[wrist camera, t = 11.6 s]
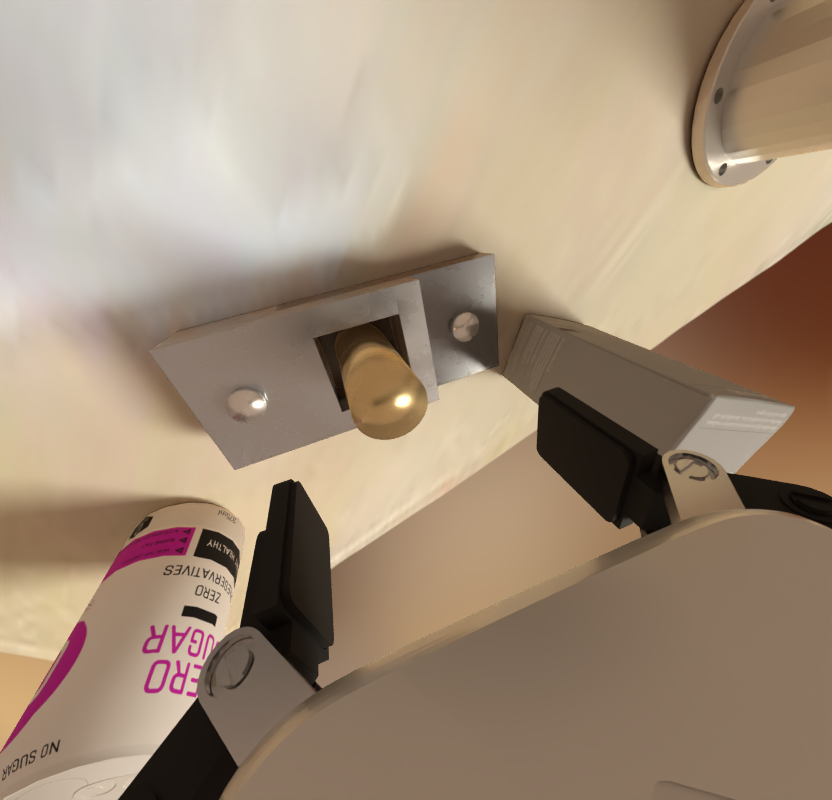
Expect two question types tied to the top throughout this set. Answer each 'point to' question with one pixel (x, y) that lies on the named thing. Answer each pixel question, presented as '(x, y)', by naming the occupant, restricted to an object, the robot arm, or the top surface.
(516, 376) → the skincare box
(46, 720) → the supplement can
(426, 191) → the top surface
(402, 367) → the brass pin
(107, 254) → the top surface
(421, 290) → the grey plate with window
